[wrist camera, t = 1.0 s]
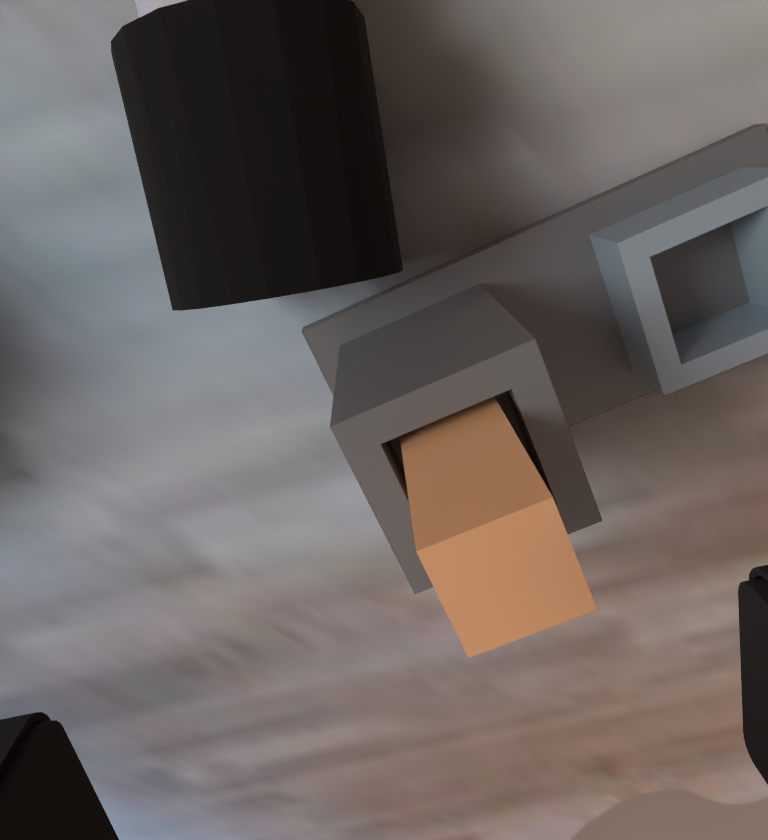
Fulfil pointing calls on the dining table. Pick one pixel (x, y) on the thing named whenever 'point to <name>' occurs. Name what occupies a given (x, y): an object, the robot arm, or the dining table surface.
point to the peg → (489, 530)
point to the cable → (257, 146)
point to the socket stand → (558, 326)
